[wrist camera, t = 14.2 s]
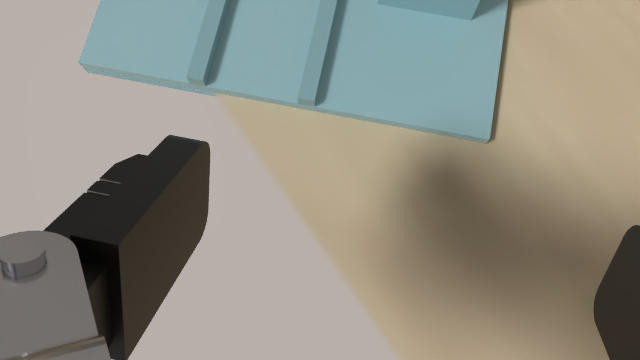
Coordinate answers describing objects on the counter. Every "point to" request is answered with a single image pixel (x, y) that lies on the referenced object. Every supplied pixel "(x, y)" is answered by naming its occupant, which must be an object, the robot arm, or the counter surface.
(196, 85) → the lid
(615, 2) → the counter surface
